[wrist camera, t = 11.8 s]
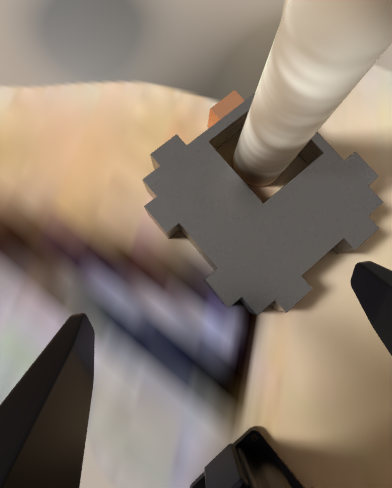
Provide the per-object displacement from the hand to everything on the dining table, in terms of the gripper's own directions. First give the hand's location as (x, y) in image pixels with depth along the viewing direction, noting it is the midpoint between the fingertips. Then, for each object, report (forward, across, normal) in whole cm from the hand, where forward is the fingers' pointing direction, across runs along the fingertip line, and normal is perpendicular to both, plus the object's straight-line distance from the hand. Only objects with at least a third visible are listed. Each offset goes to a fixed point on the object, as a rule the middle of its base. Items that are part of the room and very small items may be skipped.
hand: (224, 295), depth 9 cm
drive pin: (+17, -7, +3) cm, 18 cm away
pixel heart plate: (+14, -6, +5) cm, 16 cm away
